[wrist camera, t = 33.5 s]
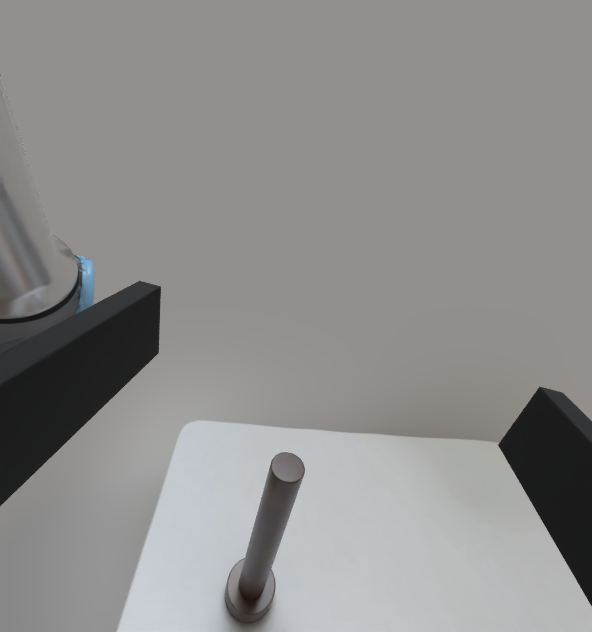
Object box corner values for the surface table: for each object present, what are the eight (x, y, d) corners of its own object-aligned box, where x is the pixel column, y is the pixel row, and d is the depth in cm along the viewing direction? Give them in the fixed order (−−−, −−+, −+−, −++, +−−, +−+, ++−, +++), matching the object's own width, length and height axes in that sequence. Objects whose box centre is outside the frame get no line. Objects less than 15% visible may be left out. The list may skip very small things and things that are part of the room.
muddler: (217, 614, 27) (248, 486, 20) (234, 558, 31) (265, 433, 24) (266, 630, 27) (315, 506, 19) (276, 571, 31) (321, 450, 23)
